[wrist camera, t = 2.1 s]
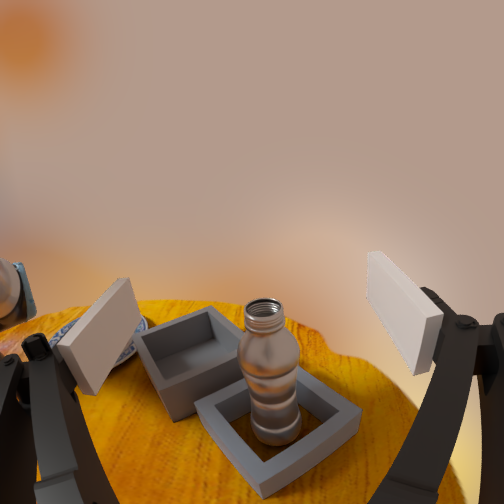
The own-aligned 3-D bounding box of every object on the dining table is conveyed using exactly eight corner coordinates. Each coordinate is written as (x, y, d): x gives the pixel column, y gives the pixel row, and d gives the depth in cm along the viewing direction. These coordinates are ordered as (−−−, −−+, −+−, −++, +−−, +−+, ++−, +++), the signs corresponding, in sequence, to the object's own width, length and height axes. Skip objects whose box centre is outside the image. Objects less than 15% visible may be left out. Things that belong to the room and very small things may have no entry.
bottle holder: (201, 424, 36) (193, 402, 34) (286, 379, 43) (285, 356, 42) (263, 499, 24) (258, 484, 22) (357, 432, 31) (362, 409, 29)
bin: (143, 365, 49) (131, 335, 47) (217, 335, 57) (211, 305, 55) (173, 422, 36) (158, 391, 34) (264, 378, 44) (260, 345, 42)
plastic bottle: (267, 459, 29) (247, 337, 23) (244, 425, 35) (217, 303, 28) (311, 437, 32) (314, 311, 25) (285, 407, 38) (275, 284, 31)
